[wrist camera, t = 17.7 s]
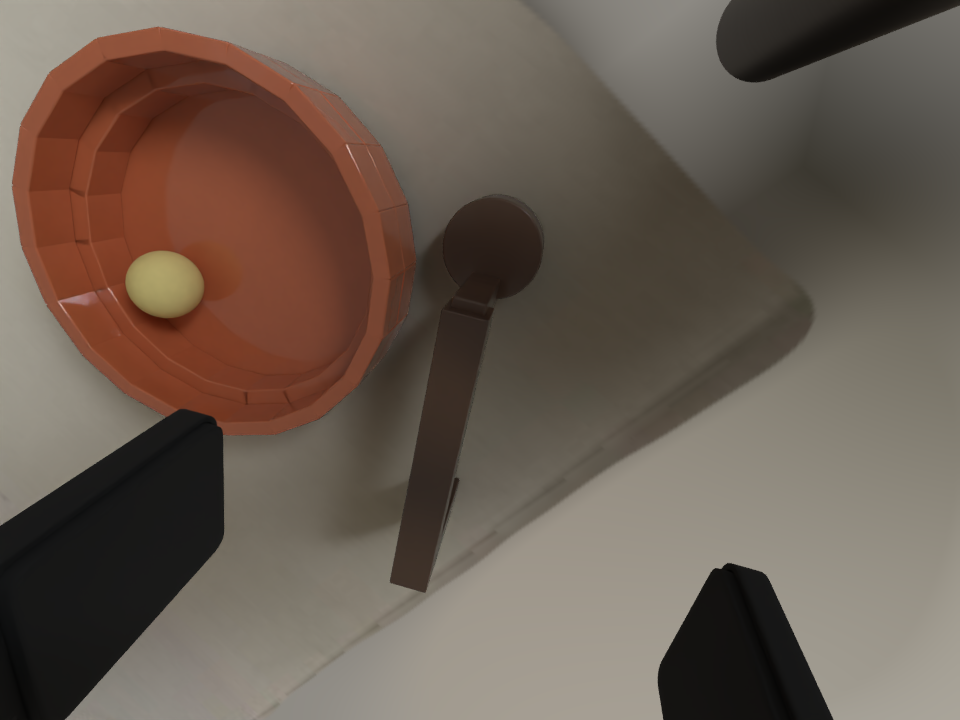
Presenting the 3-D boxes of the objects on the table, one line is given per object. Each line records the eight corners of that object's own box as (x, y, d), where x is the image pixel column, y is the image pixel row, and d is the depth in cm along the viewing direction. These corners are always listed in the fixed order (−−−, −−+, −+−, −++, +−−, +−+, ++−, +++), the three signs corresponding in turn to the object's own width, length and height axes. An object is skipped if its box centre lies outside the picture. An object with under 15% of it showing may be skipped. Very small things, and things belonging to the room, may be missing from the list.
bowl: (446, 100, 20) (418, 84, 16) (392, 427, 26) (362, 474, 22) (88, 18, 21) (-21, -15, 17) (117, 353, 27) (42, 386, 23)
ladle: (461, 184, 21) (423, 193, 15) (555, 206, 21) (553, 224, 15) (404, 488, 27) (361, 578, 21) (475, 507, 27) (452, 604, 21)
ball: (212, 274, 22) (224, 293, 24) (155, 226, 21) (174, 251, 24) (156, 322, 21) (175, 337, 23) (95, 273, 20) (123, 294, 23)
